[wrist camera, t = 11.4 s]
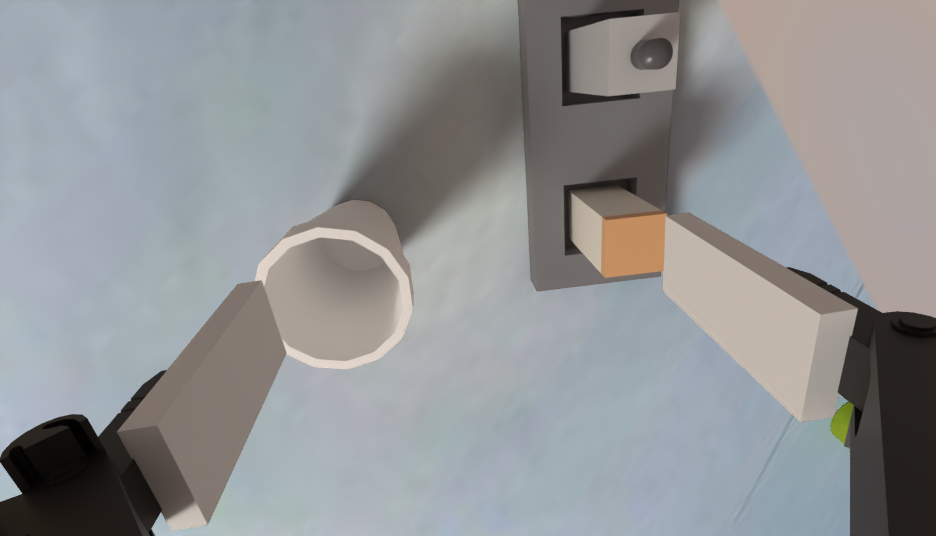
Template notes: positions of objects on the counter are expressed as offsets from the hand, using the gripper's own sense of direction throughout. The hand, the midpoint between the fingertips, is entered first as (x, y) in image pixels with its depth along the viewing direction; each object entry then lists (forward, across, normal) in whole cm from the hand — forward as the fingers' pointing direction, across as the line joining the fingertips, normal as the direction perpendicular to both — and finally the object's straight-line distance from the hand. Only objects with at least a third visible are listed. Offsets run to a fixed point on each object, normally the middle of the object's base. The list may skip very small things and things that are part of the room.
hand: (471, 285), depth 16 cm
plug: (+25, +12, -7) cm, 28 cm away
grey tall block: (+25, +12, +5) cm, 28 cm away
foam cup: (+25, -8, -6) cm, 27 cm away
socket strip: (+25, +12, -1) cm, 28 cm away
